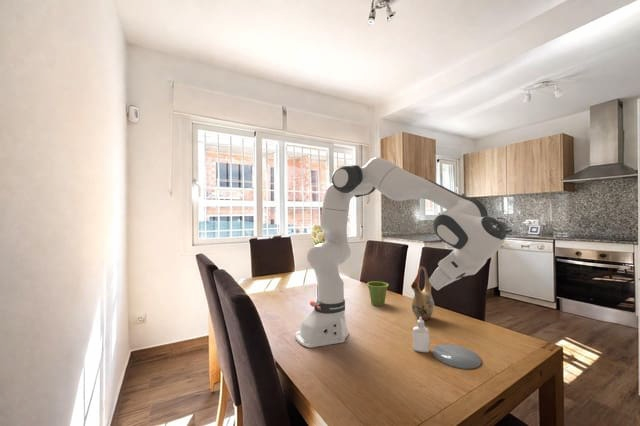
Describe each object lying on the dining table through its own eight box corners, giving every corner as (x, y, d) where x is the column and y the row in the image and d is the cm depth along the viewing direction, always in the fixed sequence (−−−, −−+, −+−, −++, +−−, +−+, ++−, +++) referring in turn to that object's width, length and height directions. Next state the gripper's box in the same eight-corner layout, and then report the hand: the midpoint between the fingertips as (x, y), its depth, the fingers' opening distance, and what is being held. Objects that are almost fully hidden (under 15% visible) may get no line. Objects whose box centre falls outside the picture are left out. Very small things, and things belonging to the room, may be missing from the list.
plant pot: (391, 307, 141) (391, 286, 141) (369, 307, 141) (368, 286, 141) (386, 300, 152) (385, 281, 153) (365, 300, 153) (365, 281, 153)
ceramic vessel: (422, 326, 116) (421, 270, 117) (404, 320, 124) (403, 267, 124) (441, 317, 126) (440, 265, 127) (424, 312, 134) (423, 263, 134)
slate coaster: (462, 374, 81) (462, 372, 81) (423, 352, 95) (423, 350, 95) (490, 361, 88) (490, 359, 88) (450, 342, 101) (450, 341, 101)
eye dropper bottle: (425, 355, 93) (425, 321, 93) (411, 349, 97) (410, 316, 97) (431, 350, 96) (430, 317, 96) (416, 345, 100) (416, 313, 100)
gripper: (479, 242, 87) (460, 265, 97) (435, 263, 79) (419, 286, 89) (495, 256, 83) (473, 279, 93) (451, 280, 76) (432, 302, 85)
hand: (446, 282), depth 91 cm, fingers open, 8 cm apart
